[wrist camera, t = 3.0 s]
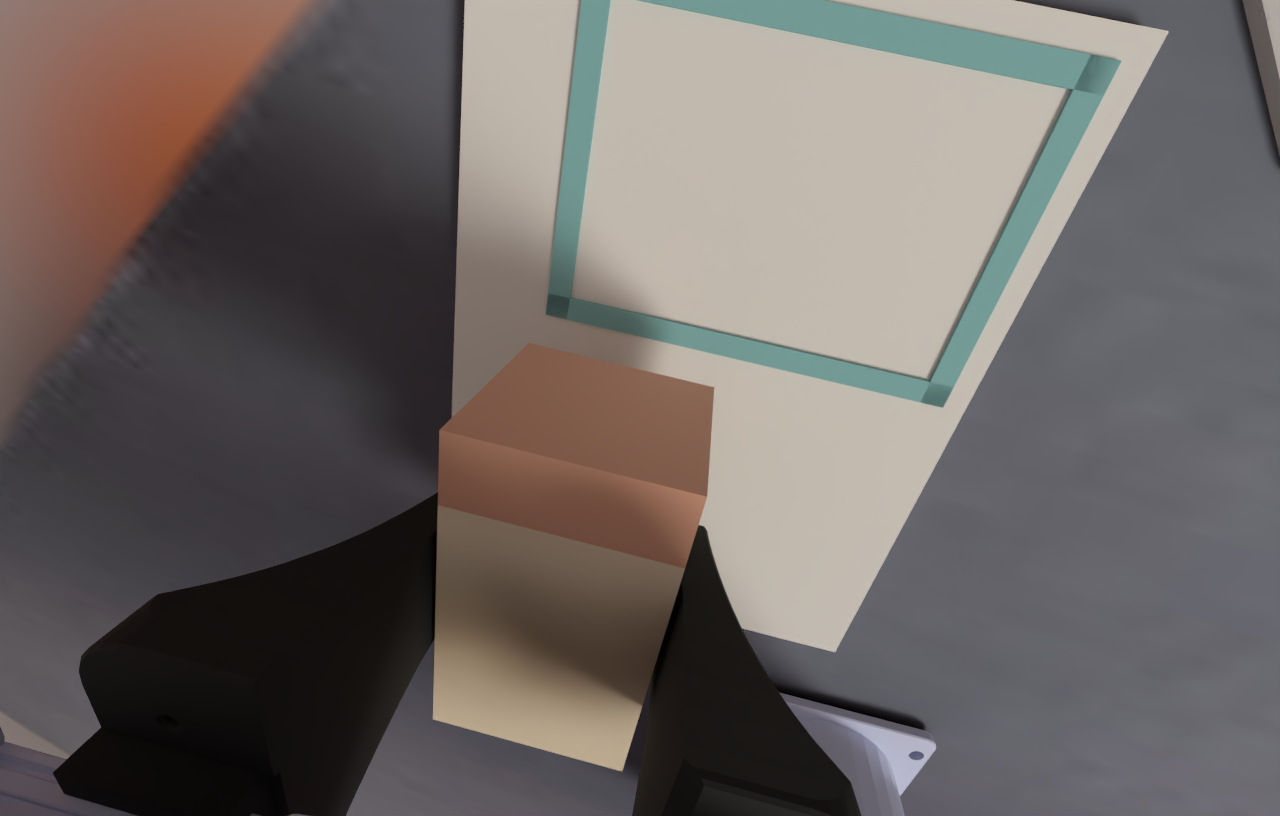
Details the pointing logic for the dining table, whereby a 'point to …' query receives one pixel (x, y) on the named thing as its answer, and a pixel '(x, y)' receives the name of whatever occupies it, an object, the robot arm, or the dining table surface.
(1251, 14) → the smartphone
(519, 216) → the mat
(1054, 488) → the dining table surface
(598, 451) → the block
